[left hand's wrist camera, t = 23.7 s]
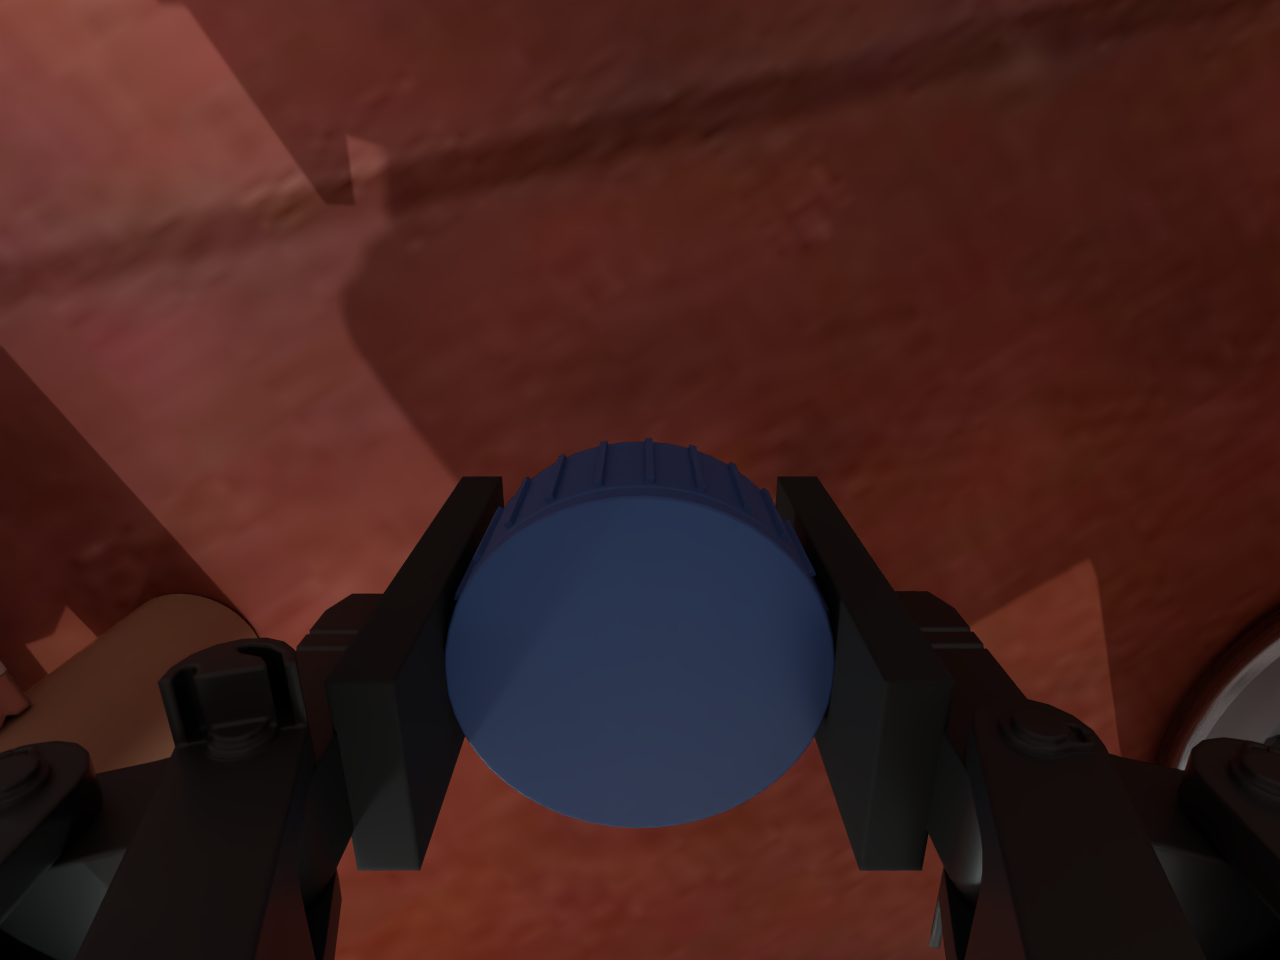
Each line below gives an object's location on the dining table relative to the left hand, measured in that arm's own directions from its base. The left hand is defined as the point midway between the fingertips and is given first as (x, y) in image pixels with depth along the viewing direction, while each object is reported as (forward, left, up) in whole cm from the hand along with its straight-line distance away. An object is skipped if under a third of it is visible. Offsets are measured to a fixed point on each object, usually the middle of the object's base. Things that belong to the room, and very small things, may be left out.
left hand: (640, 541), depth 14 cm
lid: (0, 0, +4) cm, 4 cm away
